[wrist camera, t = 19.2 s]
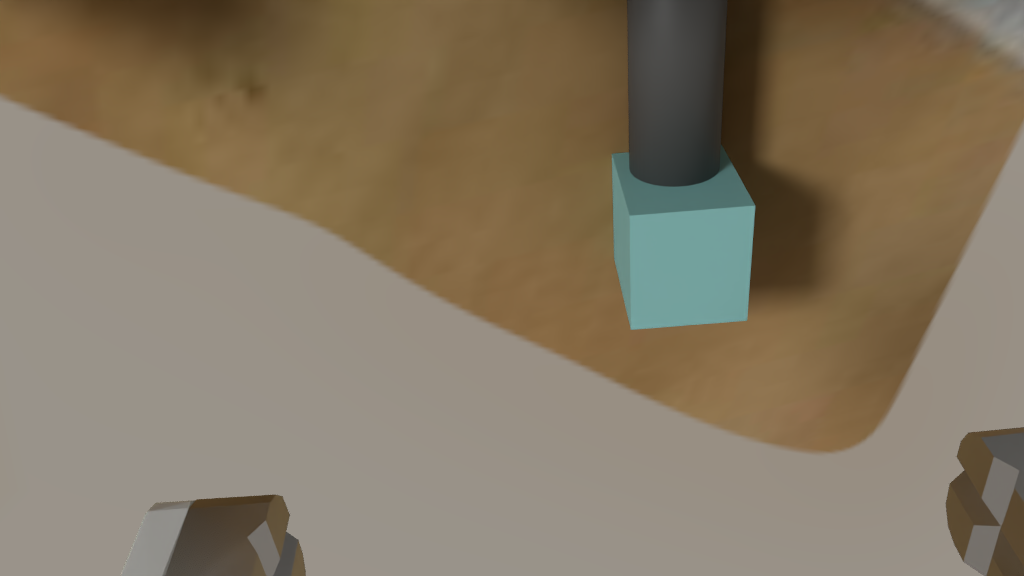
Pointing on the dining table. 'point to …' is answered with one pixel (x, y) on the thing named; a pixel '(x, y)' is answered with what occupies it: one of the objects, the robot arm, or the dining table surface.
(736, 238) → the plug
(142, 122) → the dining table surface
